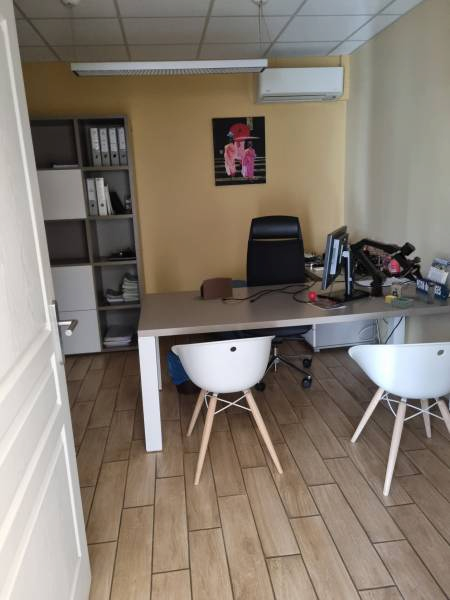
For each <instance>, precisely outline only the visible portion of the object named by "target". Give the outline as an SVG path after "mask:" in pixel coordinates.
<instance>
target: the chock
mask: <svg viewBox="0 0 450 600" xmlns="http://www.w3.org/2000/svg"><path fill="white" fill-rule="evenodd" d="M395 298H397V297H395V296H391V294H390V295H385V304H390V305H391V299H395Z"/></svg>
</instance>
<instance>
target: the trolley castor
mask: <svg viewBox="0 0 450 600" xmlns="http://www.w3.org/2000/svg"><path fill="white" fill-rule="evenodd" d="M402 287H404V286H400V285H398V284H396V285H392V284H391V285H390V288H391V294H390V296H395V297H397V298H398V297H402V291H401V288H402ZM395 288H398V289H397V291H396V289H395Z"/></svg>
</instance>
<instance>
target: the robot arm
mask: <svg viewBox="0 0 450 600" xmlns="http://www.w3.org/2000/svg"><path fill="white" fill-rule="evenodd" d="M366 246H368V247H371V248H374V249H378V250H381V251H382V252H384V253H385V254H388V255H391V256H390V261H393V260H394V261H395V262H397V264H398V267H399V268H401V269H402V270H401V271H400V272H399V275H400V276H401V277H402V278H405V279H407V280H409V281H412V282H414V283H417V282H418V281H417V278H418V279H420V280H421V281H423V280H424V277H423V275H422V272H421V269H422V266H421V264H420V263H421V262H422V261H421V259H422V258H421V257H420V256H414V258H413V259H410V258H407V257H409V256H411V254H413V253H414V252H415V251H416V246H414V245H413V244H411V243H410V242H409V241H407V242H405V243H404V244H403V245H402V246H399V245H398V244H396V243H385V242H381V241H377V240H374V239H371V238H368V237H365V238H361V240H359V241H357V242H356V243H352V244H350V245H349V246H348V248H349V247H350V249H351V251H352V253H353V254H352V253H351V254H352V255H353V256H355V257H357V258H358V259H359V261H360V263H361V264H363V266H364V267H365V268H366V269H367V271H368V272H369V274H370V275H371V278H372V281H371V282H370V283H369V285H370V287H371V288H370V289H371V290H370V293H369V296H373V297H382V296H384V295H385V294H384V288H383V287H384V284H385V283H386V282H387V279H388V278H387V274H385V272H384V271H383V270H378V269H377V267H376V266H375V265H374V263H372V261H371V260H370V258H368V256H367V255H366V254H365V252H364V247H366Z"/></svg>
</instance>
